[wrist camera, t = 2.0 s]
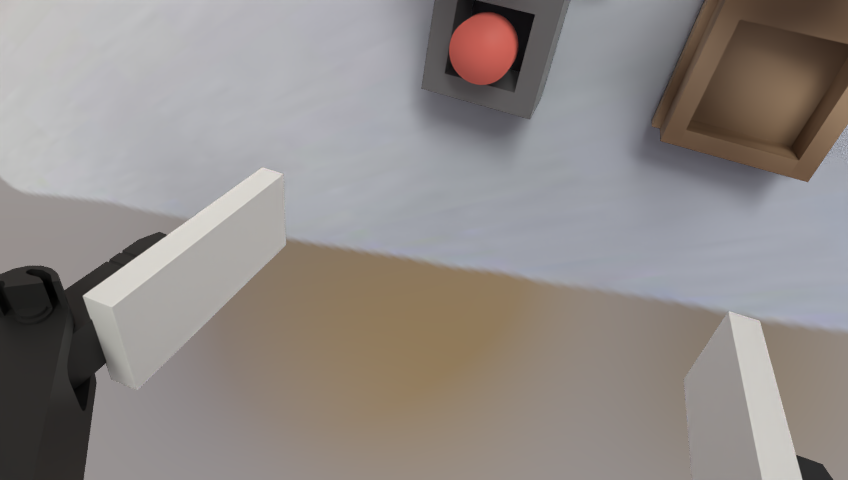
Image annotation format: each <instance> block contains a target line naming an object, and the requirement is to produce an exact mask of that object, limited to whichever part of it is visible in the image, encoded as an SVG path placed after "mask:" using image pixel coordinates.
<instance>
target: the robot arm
mask: <svg viewBox="0 0 848 480" xmlns="http://www.w3.org/2000/svg"><path fill="white" fill-rule="evenodd" d="M285 245H286V229H285V197H284V174H282V173H279V172H276V171H272V170H269V169H266V168H263V167H262V168H261V169H259V170H258V171H256V172H255V173H254V174H252V175H251V176H249V177H248V178H247V179H245V180H244V181H242V182H241V183H240V184H238V185H237V186H235V187H234V188H233V189H231V190H230V191H228V192H227V193H226V194H224V195H223V196H221V197H220V198H219V199H217V200H216V201H214V202H213V203H212V204H210V205H209V206H207V207H206V208H205V209H203V210H202V211H200V212H199V213H198V214H196V215H195V216H194V217H192V218H191V219H189V220H188V221H187V222H185V223H184V224H182V225H181V226H180V227H178V228H177V229H175V230H174V231H173V232H171V233H170V234H168V235H166V234H163V233H161V232H158V233H155V234H153V235H150V236H147V237H144V238H142V239H139V240H137V241H136V242H134V243H133V244H132V245H130V246H129V247H127V248H126V249H124V250H123V252H122V253H119V254H117V255H116V256H114V257H113V258H111V259H110V261H109V262H105V263H104V264H102V265H101V266H99V267H98V268H96V269H95V270H94V271H92V272H91V273H90V274H88V275H86V276H85V277H83V278H82V279H80V280H79V281H78V282H76V283H74V284H73V285H72V286H70V287H69V288H67V289H66V290H64V289H63V286H62V284H61V281H60V278H59V276H58V274H57V273H56V272H55V271H54V270H53V269H51V268H48V267H44V266H25V267H20V268H15V269H12V270H10V271H7V272H5V273H2V274H0V480H83V479H84V472H85V464H86V457H87V450H88V441H89V435H90V427H91V420H92V412H93V405H94V398H95V390H96V377H95V372H96V371H97V370H98V369H100V368H101V367H102V366H103V365H104V364H105V363H106V366H107V368H108V371H109V374H110V377H111V379H112V380H114V381H116V382H119V383H121V384H124V385H126V386H128V387H130V388H133V389H135V390H138V389H139V388H140V387H141V386H142V385H143V384H144V383H145V382H146V381H147V380H148V379H149V378H150V377H151V376H152V375H153V374H154V373H155V372H156V371H157V370H158V369H159V368H160V367H162V365H164V364H165V363H166V362H167V360H169V359H170V358H171V357H172V356H173V355H174V354H175V353H176V352H177V351H178V350H179V349H180V348H181V347H182V346H183V345H184V344H185V343H186V342H187V341H188V340H189V339H190V338H191V337H192V336H193V335H194V334H195V333H196V332H197V331H198V330H199V329H200V328H201V327H202V326H203V325H204V324H205V323H207V321H209V320H210V319H211V318H212V317H213V316H214V314H216V313H217V312H218V311H219V310H220V309H221V308H222V307H223V306H224V305H225V304H226V303H227V302H228V301H229V300H230V299H231V298H232V297H233V296H234V295H235V294H236V293H237V292H238V291H239V290H240V289H241V288H242V287H243V286H244V285H245V284H246V283H247V282H248V281H249V280H250V279H251V278H252V277H254V276H255V274H257V272H259V271H260V270H261V268H263V266H265V265H266V264H267V263H268V262H269V261H270V260H271V259H272V258H273V257H274V256H275V255H276V254H277V253H278V252H279V251H280V250H281V249H282V248H283V247H284V246H285ZM684 387H685V388H684V389H685V401H686V413H687V426H688V438H689V451H690V463H691V476H692V480H833V479H832V477H831V476H830V475H829V473H828V472H827V470H826V469H825V467H824V466H823V464H820V463H817V462H815V461H812V460H809V459H806V458H803V457H800V456H798V455H796V454H795V451H794V446H793V443H792V439H791V435H790V432H789V428H788V424H787V421H786V417H785V413H784V410H783V406H782V402H781V398H780V395H779V391H778V387H777V383H776V380H775V376H774V372H773V369H772V365H771V361H770V357H769V354H768V350H767V346H766V342H765V339H764V335H763V331H762V328H761V324H760V321H759V320H755V319H752V318H749V317H746V316H742V315H739V314H736V313H733V312H729V311H728V313H727V314H726V316H725V317H724V319H723V320H722V322H721V323H720V325H719V327H718V328H717V329H716V331H715V333H714V334H713V336H712V337H711V339H710V340H709V342H708V343H707V345H706V346H705V348H704V349H703V351H702V352H701V354H700V355H699V357H698V358H697V360H696V362H695V363H694V365H693V366H692V368H691V369H690V371H689V372H688V374H687V375H686V377H685V378H684Z"/></svg>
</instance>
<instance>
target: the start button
mask: <svg viewBox="0 0 848 480" xmlns="http://www.w3.org/2000/svg"><path fill="white" fill-rule="evenodd" d="M518 46H519V44H518V36H517V33H516V31H515V29H514V27H513V25H512V24H511V23H510V22H509V21H508V20H507V19H506V18H505V17H503V16H502V15H500V14H497V13H494V12H481V13H478V14H475V15H473V16H472V17H470V18H469V19H467V20H466V21H464V22H463V23H462V24H461V25H459V26H458V28H457V29H456V30H455V31H454V33H453V35H452V38H451V41H450V45H449V55H450V60H451V63H452V65H453V67H454V69H455V71H456V72H457V73H458V74H459V75H460V76H461V77H462V78H463V79H464V80H466V81H468V82H470V83H473V84H477V85H487V84H491V83H494V82H496V81H497V80H499V79H500V78H501V77H503V76H504V74H505V73H506V72H507V71H508V70H509V68H510V67H511V66H512V64H513V63H514V61H515V59H516V57H517V54H518Z"/></svg>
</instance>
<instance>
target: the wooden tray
mask: <svg viewBox="0 0 848 480" xmlns="http://www.w3.org/2000/svg"><path fill="white" fill-rule="evenodd" d="M847 124H848V0H705V1H704V3H703V6H702V8H701V10H700V13H699V15H698V17H697V19H696V22H695V24H694V26H693V28H692V31H691V33H690V35H689V37H688V40H687V42H686V44H685V47H684V49H683V51H682V53H681V56H680V58H679V60H678V62H677V65H676V67H675V69H674V71H673V74H672V76H671V78H670V80H669V83H668V85H667V87H666V90H665V92H664V94H663V96H662V99H661V101H660V103H659V105H658V108H657V110H656V112H655V114H654V117H653V119H652V127H656V128H660V141H662V142H666V143H670V144H673V145H677V146H680V147H684V148H687V149H691V150H695V151H698V152H702V153H705V154H709V155H713V156H716V157H720V158H723V159H727V160H730V161H734V162H738V163H741V164H745V165H748V166H752V167H756V168H759V169H763V170H766V171H770V172H774V173H777V174H781V175H784V176H788V177H791V178H795V179H799V180H802V181H806V182H808V181H809V180H810V178H811V177H812V175H813V174H814V172H815V171H816V169H817V168H818V167H819V165H820V164H821V162H822V161H823V159H824V158H825V156H826V155H827V153H828V152H829V151H830V149H831V148H832V146H833V145H834V143H835V142H836V140H837V139H838V137H839V136H840V134H841V133H842V132H843V130H844V129H845V127H846V126H847Z"/></svg>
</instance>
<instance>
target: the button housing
mask: <svg viewBox="0 0 848 480" xmlns="http://www.w3.org/2000/svg"><path fill="white" fill-rule="evenodd" d="M478 1H482V2H486V3H490V4H494V5H498V6H502V7H507V8H511V9H515V10H519V11H523V12H527V13H531V14H535V17H534V21H533V24H532V28H531V32H530V36H529V40H528V43H527V47H526V51H525V55H524V59H523V62H522V66H521V70H520V72H518V71H514V70H511V69H509V70H508V71H507V72H506V73H505V74H504V76H503V77H501V78H500V79H499V80H497V81H496V82H494V83H491V84H487V85H477V84H473V83H470V82H468V81H466V80H464V79H463V78H462V77H461V76H460V75H459V74H458V73H457V72H456V71H455V69H454V67H453V65H452V63H451V60H450V55H449V45H450V41H451V38H452V35H453V33H454V31H455V30H456V29H457V28H458V26H459V25H461V24H462V23H463V22H464V21H466V20H467V19H469V18H470V17H471V14H472V9H473V4H474V0H435V2H434V9H433V15H432V22H431V29H430V35H429V42H428V48H427V55H426V62H425V68H424V75H423V81H422V89H425V90H429V91H432V92H436V93H439V94H443V95H446V96H450V97H453V98H457V99H460V100H464V101H467V102H471V103H474V104H478V105H481V106H485V107H488V108H492V109H495V110H499V111H502V112H506V113H509V114H513V115H516V116H520V117H523V118H527V119H530V118H531V116H532V114H533V113H534V111H535V109H536V107H537V105H538V103H539V101H540V99H541V97H542V93H543V90H544V87H545V83H546V80H547V77H548V73H549V70H550V67H551V63H552V60H553V56H554V53H555V50H556V46H557V43H558V40H559V36H560V33H561V29H562V26H563V23H564V19H565V16H566V13H567V9H568V6H569V2H570V0H478Z"/></svg>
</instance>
